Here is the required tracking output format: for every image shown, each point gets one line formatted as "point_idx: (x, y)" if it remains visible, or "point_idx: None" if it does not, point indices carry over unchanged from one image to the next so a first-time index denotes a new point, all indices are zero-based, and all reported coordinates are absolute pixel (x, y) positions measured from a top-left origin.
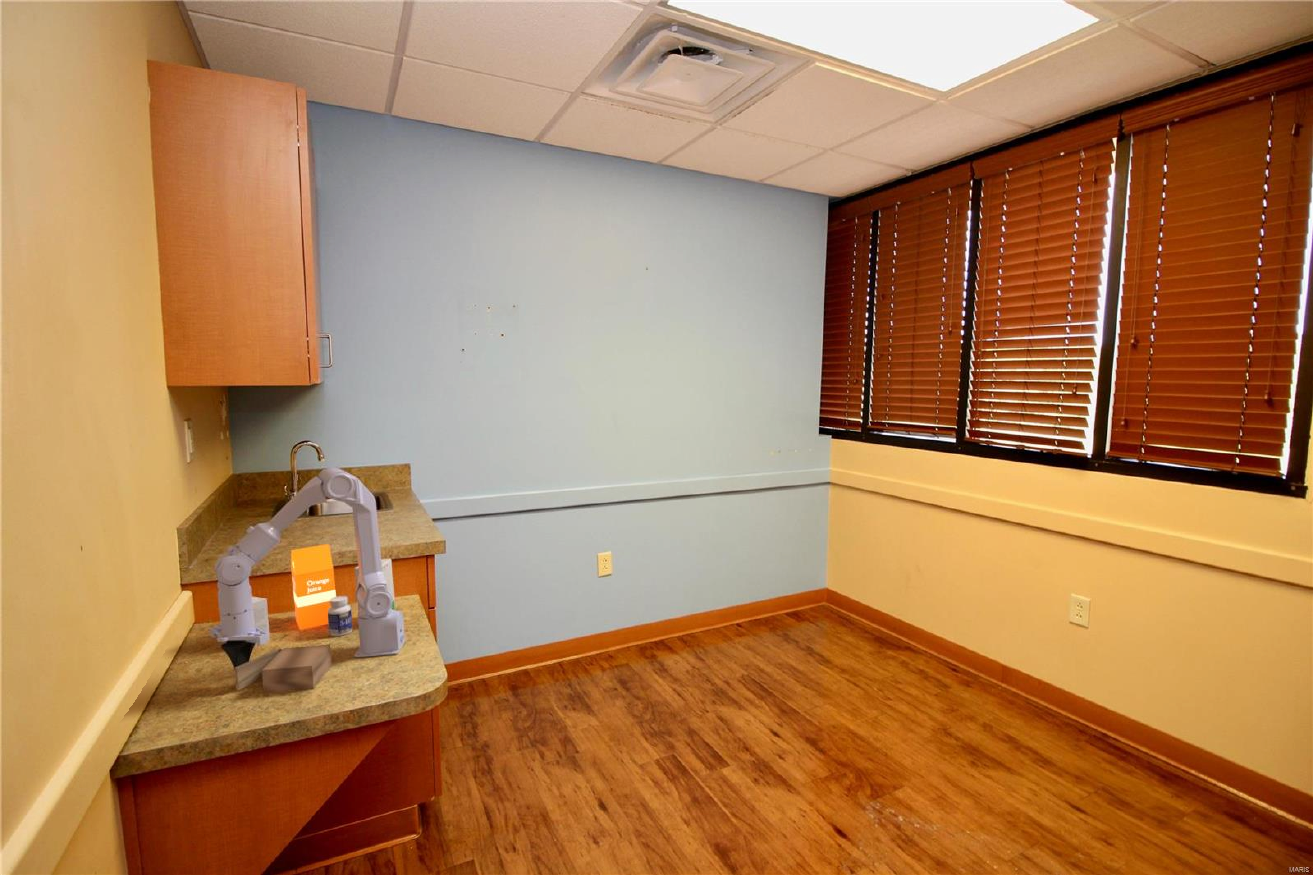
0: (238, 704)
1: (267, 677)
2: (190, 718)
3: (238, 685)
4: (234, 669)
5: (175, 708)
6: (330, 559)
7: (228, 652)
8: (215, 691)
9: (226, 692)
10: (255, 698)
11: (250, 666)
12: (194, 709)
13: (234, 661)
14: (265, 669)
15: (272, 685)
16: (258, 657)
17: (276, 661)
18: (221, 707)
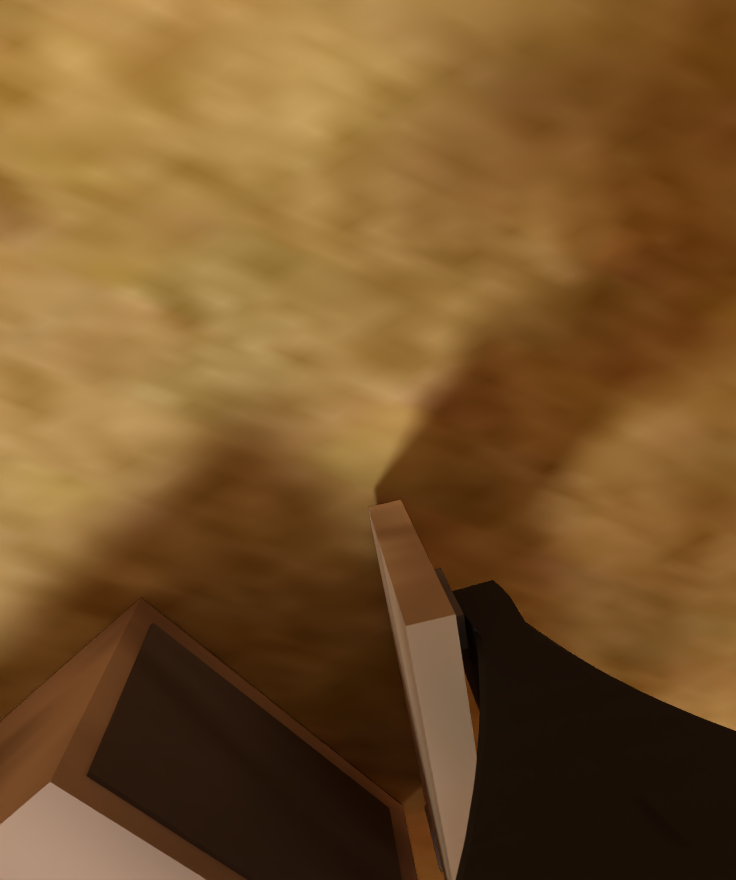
0: (115, 404)
1: (55, 731)
2: (208, 19)
3: (376, 524)
4: (508, 604)
5: (558, 44)
6: None
7: (655, 768)
8: (548, 394)
9: (445, 437)
10: (108, 527)
11: (420, 722)
12: (372, 136)
13: (513, 681)
14: (29, 811)
15: (64, 687)
16: None
17: None
18: (188, 295)
